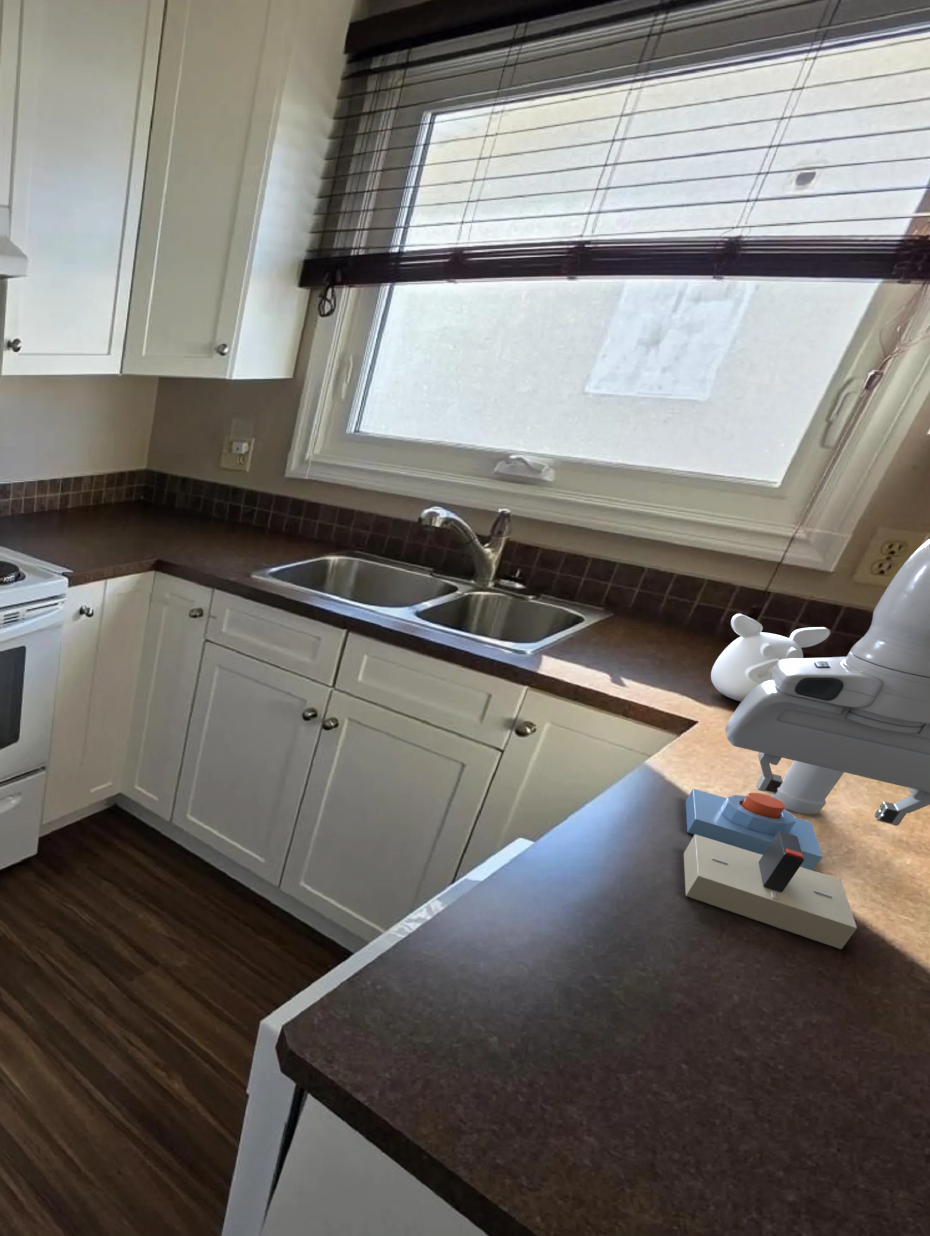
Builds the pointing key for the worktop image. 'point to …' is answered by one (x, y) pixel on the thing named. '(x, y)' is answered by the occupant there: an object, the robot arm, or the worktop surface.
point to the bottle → (806, 787)
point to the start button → (763, 805)
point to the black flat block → (780, 861)
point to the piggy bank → (757, 655)
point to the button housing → (747, 825)
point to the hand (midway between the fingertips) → (823, 805)
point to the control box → (768, 892)
